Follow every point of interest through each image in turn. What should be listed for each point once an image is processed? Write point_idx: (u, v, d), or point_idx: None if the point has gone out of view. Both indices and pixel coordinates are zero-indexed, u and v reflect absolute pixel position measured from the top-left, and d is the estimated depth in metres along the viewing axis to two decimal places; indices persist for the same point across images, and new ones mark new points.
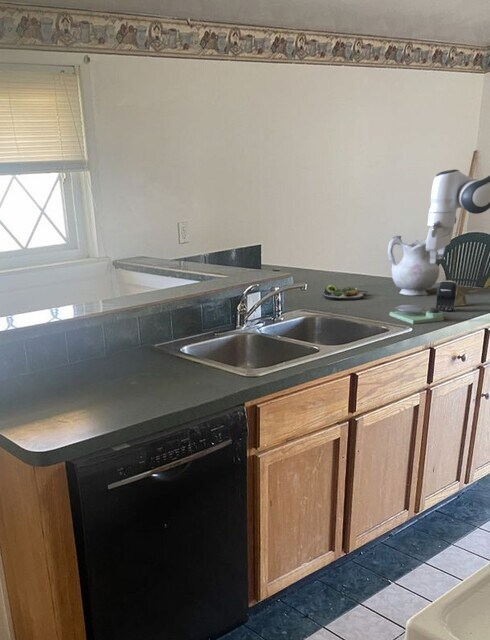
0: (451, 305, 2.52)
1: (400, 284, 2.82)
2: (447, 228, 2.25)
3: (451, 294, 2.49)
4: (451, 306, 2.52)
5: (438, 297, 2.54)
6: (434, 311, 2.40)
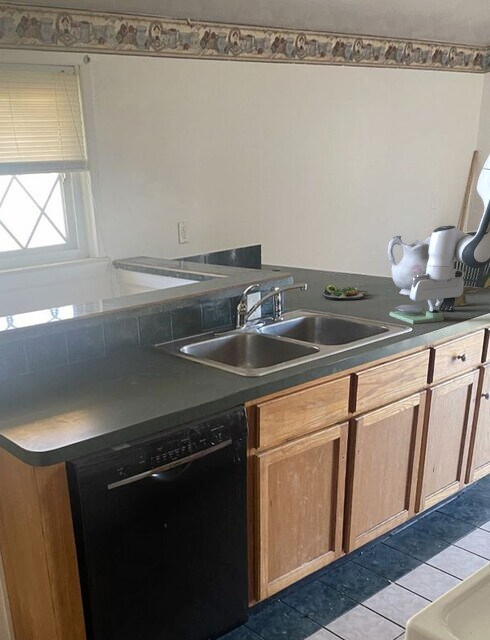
0: (451, 305, 2.52)
1: (400, 284, 2.82)
2: (439, 281, 2.34)
3: None
4: (451, 306, 2.52)
5: None
6: None
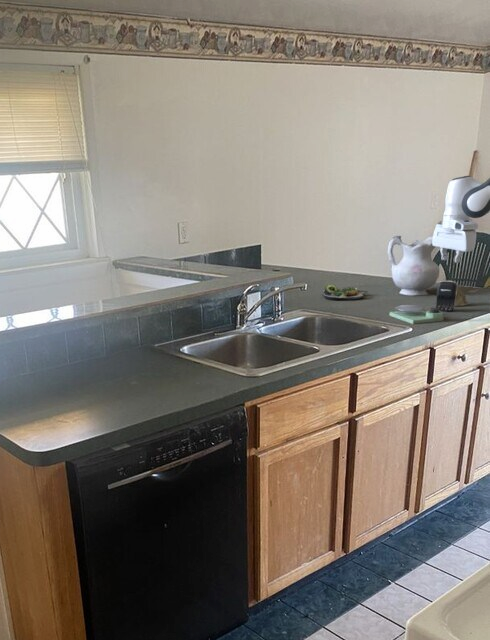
0: (451, 305, 2.52)
1: (400, 284, 2.82)
2: (445, 230, 2.43)
3: (451, 294, 2.49)
4: (451, 306, 2.52)
5: (438, 297, 2.54)
6: (434, 311, 2.40)
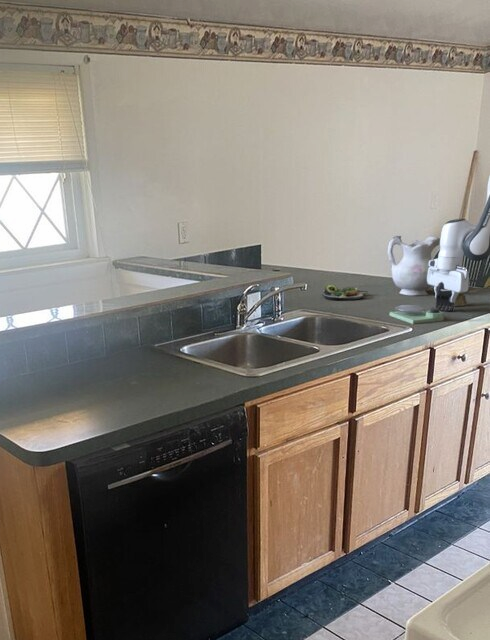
0: (451, 305, 2.52)
1: (400, 284, 2.82)
2: None
3: (451, 294, 2.49)
4: (451, 306, 2.52)
5: (438, 297, 2.54)
6: (434, 311, 2.40)
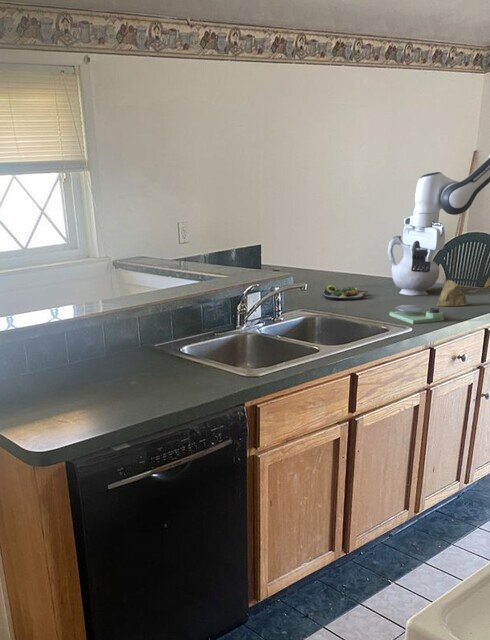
0: (427, 265, 2.40)
1: (400, 284, 2.82)
2: None
3: (427, 253, 2.37)
4: (427, 266, 2.40)
5: (414, 257, 2.42)
6: (434, 311, 2.40)
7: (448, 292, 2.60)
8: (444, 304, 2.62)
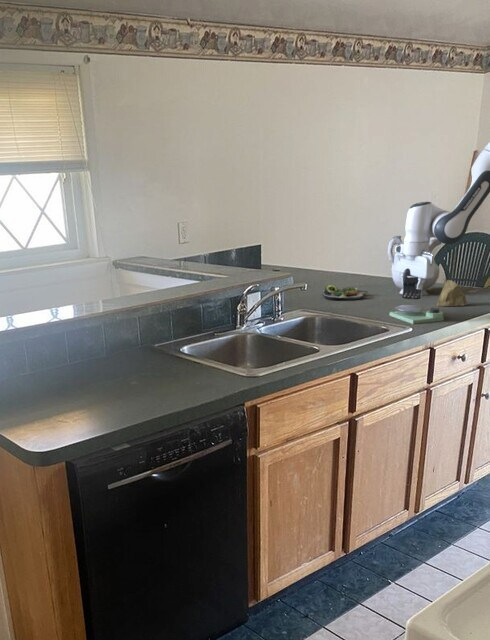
0: (418, 292, 2.43)
1: (400, 284, 2.82)
2: None
3: (417, 281, 2.40)
4: (418, 293, 2.43)
5: (405, 284, 2.45)
6: (434, 311, 2.40)
7: (448, 292, 2.60)
8: (444, 304, 2.62)
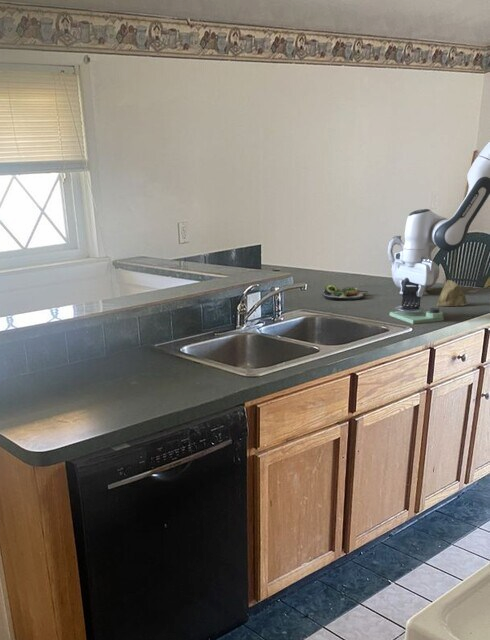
0: (417, 301, 2.44)
1: None
2: None
3: (417, 290, 2.41)
4: (417, 302, 2.44)
5: (404, 293, 2.46)
6: (434, 311, 2.40)
7: (448, 292, 2.60)
8: (444, 304, 2.62)
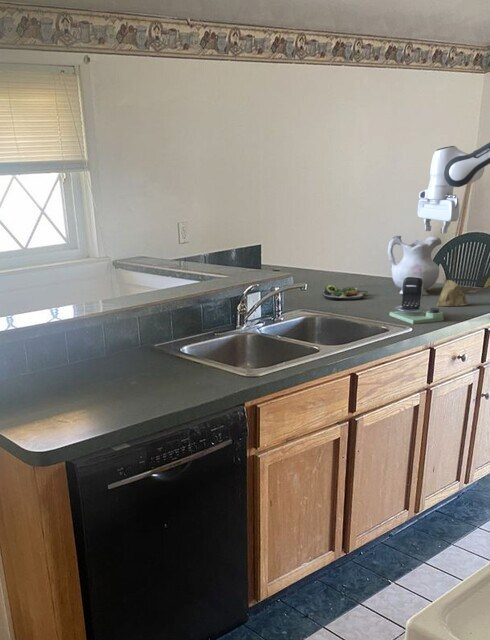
0: (417, 301, 2.44)
1: (400, 284, 2.82)
2: None
3: (417, 290, 2.41)
4: (417, 302, 2.44)
5: (404, 293, 2.46)
6: (434, 311, 2.40)
7: (448, 292, 2.60)
8: (444, 304, 2.62)
